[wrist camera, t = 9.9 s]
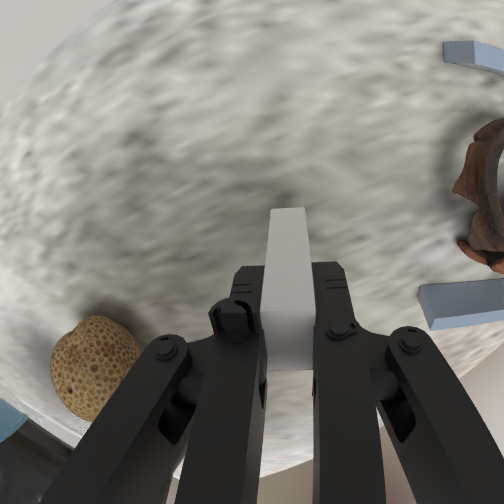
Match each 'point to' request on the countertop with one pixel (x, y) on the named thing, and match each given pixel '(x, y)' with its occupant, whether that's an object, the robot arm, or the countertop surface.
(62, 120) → the countertop surface
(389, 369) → the robot arm
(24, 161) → the countertop surface
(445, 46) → the blue-grey u-shaped frame
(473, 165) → the brown curved ring piece
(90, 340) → the natural sponge
